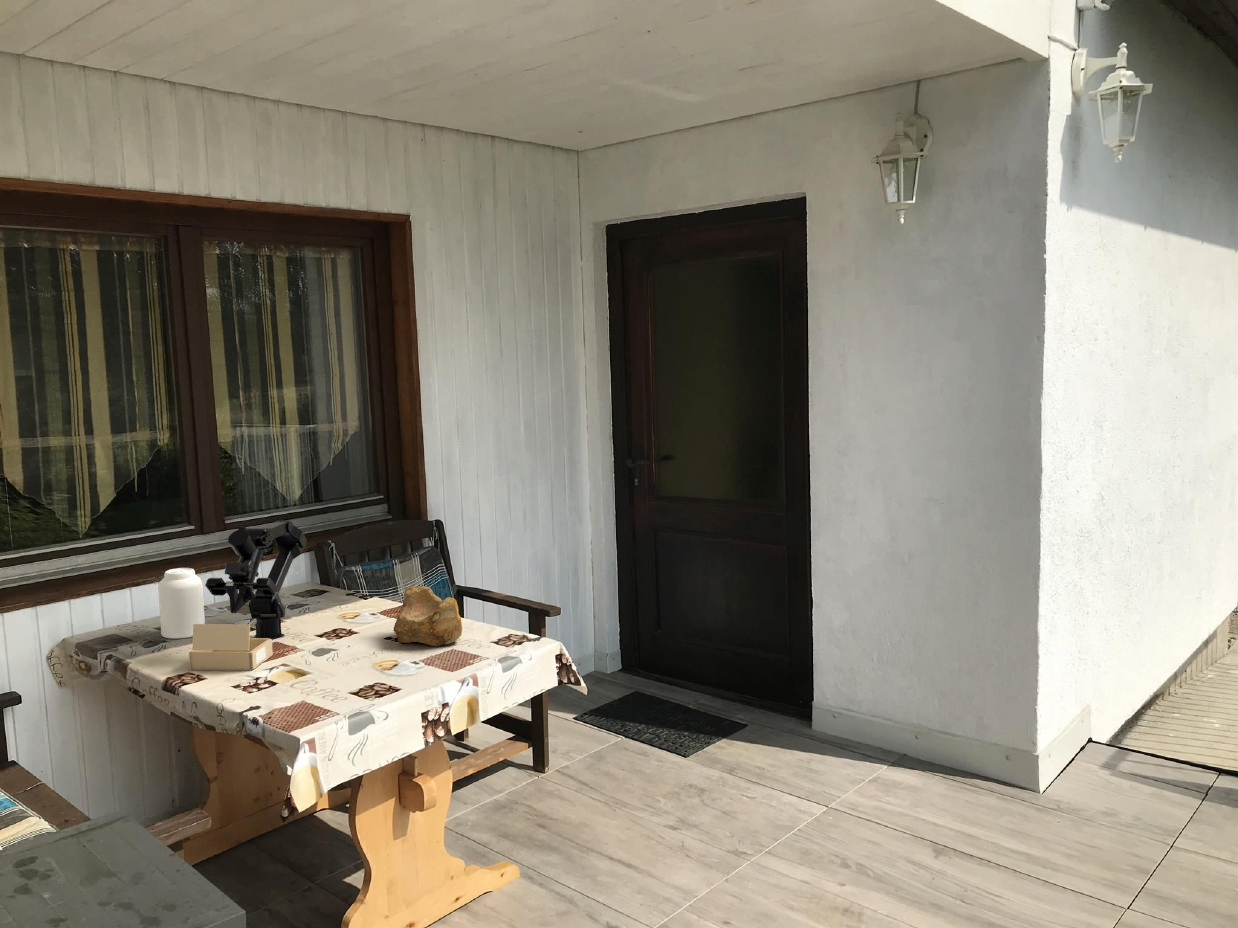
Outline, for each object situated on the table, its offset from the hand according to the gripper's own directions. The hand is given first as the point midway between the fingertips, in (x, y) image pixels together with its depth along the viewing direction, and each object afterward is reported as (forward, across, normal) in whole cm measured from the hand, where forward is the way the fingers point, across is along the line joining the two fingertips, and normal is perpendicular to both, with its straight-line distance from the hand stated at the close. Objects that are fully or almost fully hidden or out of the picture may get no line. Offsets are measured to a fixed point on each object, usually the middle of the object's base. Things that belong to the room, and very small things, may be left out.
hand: (232, 612), depth 275 cm
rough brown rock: (-4, +48, +24) cm, 54 cm away
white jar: (-8, -28, +28) cm, 40 cm away
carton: (+11, 0, +8) cm, 14 cm away
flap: (+12, 0, 0) cm, 12 cm away
